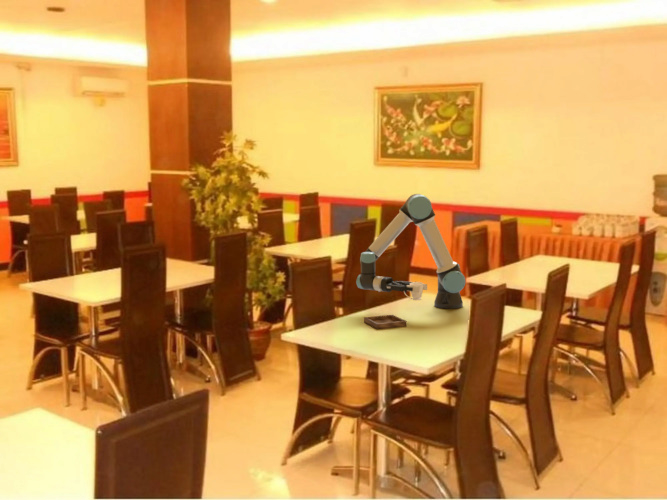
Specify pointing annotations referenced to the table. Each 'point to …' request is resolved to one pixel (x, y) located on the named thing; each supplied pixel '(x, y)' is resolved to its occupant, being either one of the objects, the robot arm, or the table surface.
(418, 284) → the cup
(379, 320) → the tray
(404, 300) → the table surface
